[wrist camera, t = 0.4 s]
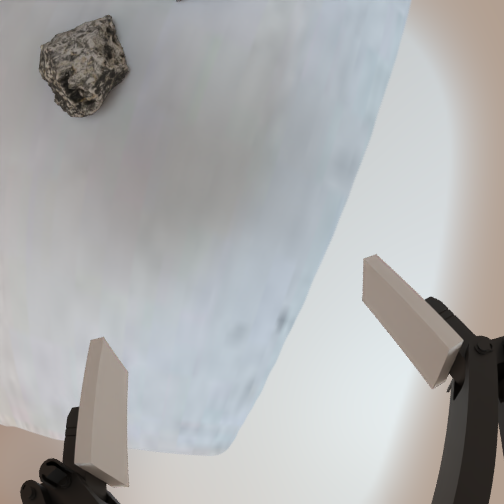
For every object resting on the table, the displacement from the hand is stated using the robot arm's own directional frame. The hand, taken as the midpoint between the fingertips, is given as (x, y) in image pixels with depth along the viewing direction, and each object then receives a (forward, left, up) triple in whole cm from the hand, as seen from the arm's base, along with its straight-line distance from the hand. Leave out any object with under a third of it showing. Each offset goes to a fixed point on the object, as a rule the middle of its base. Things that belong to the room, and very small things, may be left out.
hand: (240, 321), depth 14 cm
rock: (-19, -7, -27) cm, 34 cm away
